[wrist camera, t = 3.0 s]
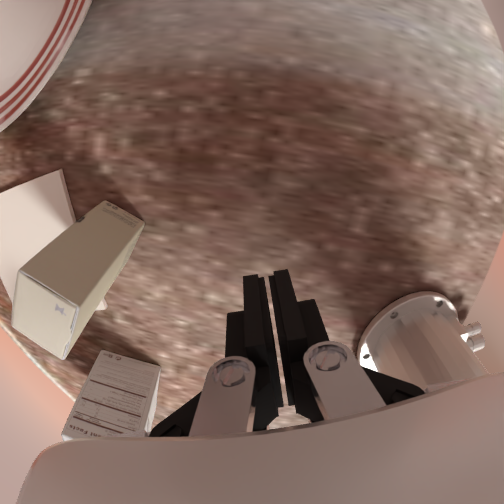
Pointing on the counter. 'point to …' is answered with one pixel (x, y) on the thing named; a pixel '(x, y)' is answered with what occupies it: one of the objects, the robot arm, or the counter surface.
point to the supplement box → (114, 398)
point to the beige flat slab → (32, 223)
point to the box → (73, 277)
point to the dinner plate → (33, 48)
